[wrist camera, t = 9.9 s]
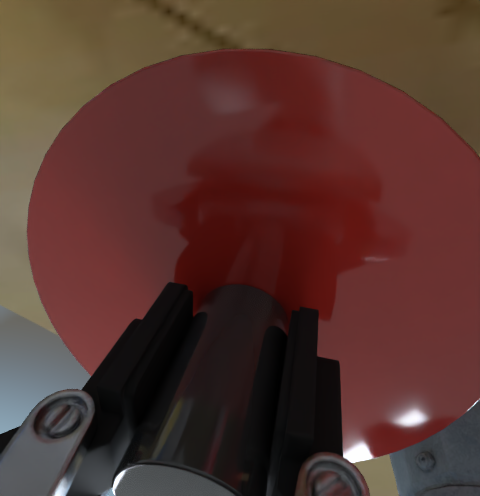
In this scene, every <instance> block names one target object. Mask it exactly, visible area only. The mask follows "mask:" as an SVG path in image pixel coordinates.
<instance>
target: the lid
mask: <svg viewBox="0 0 480 496" xmlns="http://www.w3.org/2000/svg"><path fill="white" fill-rule="evenodd" d="M27 241H28V255H29V260H30V265H31V270H32V274H33V279H34V282H35V285H36V288H37V291H38V294H39V297H40V300H41V302H42V304H43V306H44V309H45V311H46V313H47V315H48V317H49V319H50V321H51V323H52V325H53V326H54V328H55V330H56V331H57V333H58V335H59V336H60V338H61V339H62V341H63V342H64V344H65V345H66V347H67V348H68V349H69V351H70V352H71V353H72V354H73V356H74V357H75V359H76V360H77V361H78V362H79V363H80V364H81V365H82V367H83V368H84V369H85V370H86V371H87V372H88V373H89V374H90V375H91V376H92V375H93V373H94V372H95V371H96V369H97V368H98V367H99V365H100V364H101V362H102V361H103V360H104V358H105V357H106V356H107V354H108V353H109V352H110V350H111V349H112V347H113V346H114V345H115V343H116V342H117V341H118V339H119V338H120V336H121V335H122V334H123V332H124V331H125V330H126V328H127V327H128V325H129V324H130V323H131V322H132V321H133V320H134V319H136V318H137V319H143V318H144V316H145V315H146V313H147V312H148V311H149V309H150V308H151V306H152V305H153V303H154V302H155V300H156V299H157V298H158V296H159V295H160V293H161V292H162V290H163V289H164V287H165V286H166V285H167V283H168V282H174V283H179V284H184V285H187V286H188V290H191V291H193V319H192V321H191V323H190V325H189V327H188V329H187V331H186V333H185V335H184V337H183V339H182V341H181V343H180V345H179V347H178V348H177V350H176V352H175V354H174V356H173V358H172V360H171V362H170V364H169V366H168V368H167V370H166V372H165V374H164V376H163V378H162V380H161V382H160V384H159V386H158V388H157V390H156V392H155V394H154V396H153V398H152V400H151V402H150V404H149V406H148V408H147V410H146V412H145V414H144V416H143V417H142V419H141V421H140V423H139V425H138V427H137V429H136V431H135V433H134V435H133V437H132V439H131V441H130V443H129V445H128V447H127V449H126V451H125V453H124V455H123V457H122V459H121V461H120V463H119V465H118V467H117V469H116V471H115V473H114V475H113V479H112V490H113V493H114V495H115V496H266V494H267V486H268V479H269V472H270V465H269V459H270V452H271V446H272V439H273V432H274V425H275V418H276V411H277V404H278V397H279V390H280V383H281V377H282V370H283V363H284V356H285V349H286V342H287V335H288V330H289V324H290V319H291V313H292V310H296V311H299V309H300V306H301V307H306V308H311V309H317V310H319V318H318V345H317V356H319V357H323V358H328V359H333V360H338V361H339V363H340V380H341V408H342V436H343V457H344V458H346V459H348V460H349V461H350V462H351V463H353V462H358V461H363V460H368V459H373V458H377V457H380V456H384V455H387V454H391V453H394V452H397V451H400V450H402V449H405V448H407V447H410V446H412V445H414V444H417V443H419V442H422V441H423V440H425V439H427V438H429V437H431V436H432V435H434V434H436V433H438V432H440V431H441V430H443V429H445V428H446V427H447V426H449V425H450V424H452V423H453V422H454V421H456V420H457V419H458V418H460V417H461V416H463V415H464V414H465V413H466V412H467V411H468V410H469V409H470V408H471V407H472V406H473V405H475V404H476V403H477V402H478V401H479V400H480V158H479V156H478V155H477V153H476V152H475V151H474V149H473V148H472V147H471V146H470V145H469V144H468V143H467V142H466V141H465V140H464V139H463V138H461V137H460V136H459V135H458V134H457V133H456V132H455V131H454V130H453V129H452V128H451V127H450V126H449V125H448V124H447V123H446V122H445V121H444V120H443V119H442V118H441V117H439V116H438V115H436V114H435V113H434V112H432V111H431V110H429V109H428V108H427V107H425V106H424V105H422V104H421V103H419V102H418V101H417V100H415V99H414V98H412V97H411V96H409V95H408V94H407V93H405V92H404V91H402V90H400V89H398V88H396V87H394V86H392V85H390V84H388V83H386V82H384V81H382V80H380V79H378V78H376V77H373V76H371V75H369V74H367V73H365V72H363V71H361V70H359V69H356V68H353V67H350V66H346V65H343V64H340V63H337V62H334V61H330V60H327V59H324V58H321V57H318V56H313V55H307V54H300V53H294V52H287V51H281V50H274V49H219V50H213V51H206V52H200V53H193V54H187V55H181V56H178V57H175V58H172V59H169V60H166V61H163V62H159V63H156V64H153V65H150V66H147V67H144V68H142V69H140V70H138V71H136V72H134V73H132V74H130V75H128V76H127V77H125V78H123V79H121V80H119V81H117V82H115V83H113V84H111V85H110V86H108V87H107V88H106V89H104V90H103V91H102V92H100V93H99V94H98V95H97V96H95V97H94V98H93V99H91V100H90V101H89V102H87V103H86V104H85V105H83V107H82V108H81V109H80V110H79V111H78V112H77V113H76V114H75V115H74V116H73V117H72V118H71V120H70V121H69V122H68V123H67V124H66V125H65V126H64V127H63V128H62V129H61V131H60V133H59V134H58V136H57V137H56V139H55V140H54V142H53V144H52V145H51V147H50V148H49V150H48V151H47V153H46V154H45V157H44V159H43V162H42V164H41V166H40V169H39V171H38V174H37V176H36V178H35V181H34V185H33V190H32V194H31V198H30V202H29V208H28V222H27Z"/></svg>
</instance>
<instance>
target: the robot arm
mask: <svg viewBox="0 0 480 496" xmlns="http://www.w3.org/2000/svg"><path fill="white" fill-rule="evenodd" d="M318 318H319V310H317V309H311V308H306V307H301V306H300V309H299V311H296V310H292V313H291V319H290V324H289V330H288V335H287V342H286V349H285V356H284V363H283V370H282V377H281V383H280V390H279V397H278V404H277V411H276V418H275V425H274V432H273V439H272V446H271V452H270V459H269V465H270V472H269V479H268V486H267V494H266V496H370V493H369V488H368V486H367V483H366V481H365V479H364V477H363V475H362V474H361V473H360V471H359V470H358V469H357V467H356V466H355V465H353V464H352V463H351V462H350V461H349V460H348V459H346V458H344V457H343V436H342V408H341V380H340V363H339V361H338V360H333V359H328V358H323V357H319V356H317V345H318ZM192 319H193V291H191V290H188V286H187V285H184V284H179V283H174V282H168V283H167V285H166V286H165V287H164V289H163V290H162V292H161V293H160V295H159V296H158V298H157V299H156V300H155V302H154V303H153V305H152V306H151V308H150V309H149V311H148V312H147V313H146V315H145V316H144V318H143V319H137V318H136V319H134V320H133V321H132V322H131V323H130V324H129V325H128V327H127V328H126V330H125V331H124V332H123V334H122V335H121V336H120V338H119V339H118V341H117V342H116V343H115V345H114V346H113V347H112V349H111V350H110V352H109V353H108V354H107V356H106V357H105V358H104V360H103V361H102V362H101V364H100V365H99V367H98V368H97V369H96V371H95V372H94V373H93V375H92V376H91V378H90V379H89V380H88V382H87V383H86V385H85V386H84V387H83V389H82V390H78V389H67V390H62V391H58V392H55V393H54V394H51V395H49V396H47V397H46V398H45V399H43V400H42V401H40V402H39V403H38V404H37V405H36V406H35V407H34V408H33V410H32V411H31V412H30V413H29V415H28V416H27V418H26V419H25V421H24V422H23V423H22V425H21V426H19V427H17V428H15V429H12V430H9V431H7V432H5V433H2V434H0V496H108V494H109V490H110V489H111V488H112V479H113V475H114V473H115V471H116V469H117V467H118V465H119V463H120V461H121V459H122V457H123V455H124V453H125V451H126V449H127V447H128V445H129V443H130V441H131V439H132V437H133V435H134V433H135V431H136V429H137V427H138V425H139V423H140V421H141V419H142V417H143V416H144V414H145V412H146V410H147V408H148V406H149V404H150V402H151V400H152V398H153V396H154V394H155V392H156V390H157V388H158V386H159V384H160V382H161V380H162V378H163V376H164V374H165V372H166V370H167V368H168V366H169V364H170V362H171V360H172V358H173V356H174V354H175V352H176V350H177V348H178V347H179V345H180V343H181V341H182V339H183V337H184V335H185V333H186V331H187V329H188V327H189V325H190V323H191V321H192Z"/></svg>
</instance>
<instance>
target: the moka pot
mask: <svg viewBox="0 0 480 496" xmlns="http://www.w3.org/2000/svg"><path fill="white" fill-rule="evenodd" d="M389 455H390V459H391V464H392V467H393V471H394V475H395V479H396V484H397V489H398V493H399V496H480V400H479V401H478V402H477V403H476V404H475V405H473V406H472V407H471V408H470V409H469V410H468V411H467V412H466V413H465V414H464V415H463V416H461V417H460V418H458V419H457V420H456V421H454V422H453V423H452V424H450V425H449V426H447V427H446V428H445V429H443V430H441V431H440V432H438V433H436V434H434V435H432V436H431V437H429V438H427V439H425V440H423V441H422V442H419V443H417V444H414V445H412V446H410V447H407V448H405V449H402V450H400V451H397V452H394V453H391V454H389Z"/></svg>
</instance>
